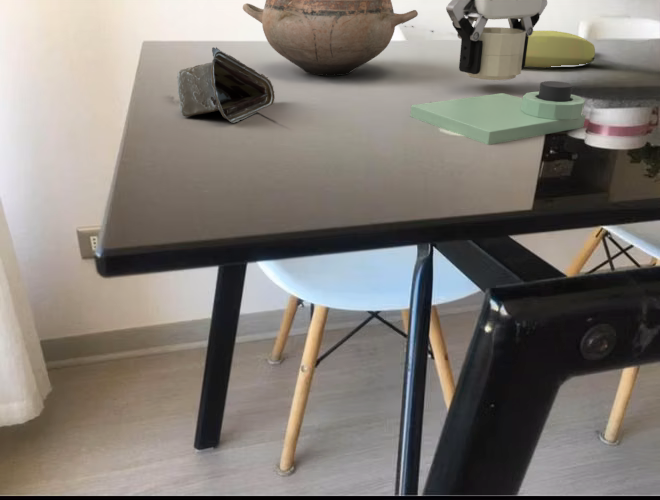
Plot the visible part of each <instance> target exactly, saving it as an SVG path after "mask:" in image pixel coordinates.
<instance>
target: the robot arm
mask: <svg viewBox="0 0 660 500" xmlns="http://www.w3.org/2000/svg"><path fill="white" fill-rule="evenodd" d="M547 6H548V0H451V1H450V2H449V3H448V4H447V5H446V8H445V10H446V12H447V14H448V17H449V18H450V21H451V22H452V23H451V24H452V26H453V28H454V29H455V31H456V32H457V38H458V39H460V40H461V42H460V52H459V62H458V63H459V65H458V70H459V71H460V72H463V73H466V72H467V73H471V74H478V73H479V72H480V66H481V56H482V47H483V43H482V42H483V41H480V40H478V39H479V38H480V36H481V34H482V31H483V29H484V27H486V25H487V23H488V21H489V20H507V21H508V26H509V28H515V29H521V30H525V31H526V35H525V43H524V51H523V59H522V67H521V69H524V68H525V60H526V53H527V45H528V38H529V36H531V35H532V33H533V31H534V27H535V26H536V25H537V23H538V22H539V20H540V16H541V15H542V13H543V12H544V11H545V9H546V8H547ZM474 22H475V23H474ZM473 24H474V25H473ZM467 73H466V74H467Z"/></svg>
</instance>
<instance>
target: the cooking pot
mask: <svg viewBox="0 0 660 500" xmlns="http://www.w3.org/2000/svg"><path fill="white" fill-rule="evenodd" d="M242 10H243V11H244V12H245V13H246V14H247V15H248V16H250V17H252V18H253V19H255V20H256V21H258V22H259V23H260V24H261V25H262V31H263V34H264V36H265V39H266V41H267V43H268V44H269V46H271V48H272V49H273V50H274V51H275V52H276V53H278V54H279V55H280V56H282V57H283V58H284V59H286V60H288V61H289V62H290V63H292V64H294V66H297V67H298V68H300V69H302V70H303V71H304V72H305V73H307V74H310V75H314V76H315V75H316V76H325V77H329V76H333V77H334V76H335V77H336V76H344V75H348V74H350V73H352V72H353V71H355V70H356V69H358V68H359V67H361V66H363V65H365V64H367V63H369V62H370V61H371V60H373V59H375V58H376V57H377V56H380V54H381V53H382V52H384V51H385V49H386V48H388V46H389V44H390V42H391V41H392V39H393V36H394V33H395V29H396V27H397V26H398V25H401V24H405V23H408V22H409V21H411V20H414V18H416V17H418V15H419V13H418V11H417V10H416V9H411V10H410V11H408V12H404V13H395V11H394V6H393V1H392V0H265V2H264V6H263V8H260V7H258V6H255V5H254V4H251V3H244V4H243V5H242Z"/></svg>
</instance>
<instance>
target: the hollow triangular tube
mask: <svg viewBox="0 0 660 500" xmlns="http://www.w3.org/2000/svg"><path fill="white" fill-rule="evenodd" d="M211 52H212V57H213V59H212V60H211V61H212V62H207V63H204V64H198V65H195V66H193V67H192V66H191V67H186V68H182V69H180V70H178V72H177V95H178V98H179V110H180V113H181V115H182V116H183V117H192V116H196V115H204V114H209V113H211V112H212V113H213V112H218V111H219V112H220V114H221V115H222V117H223V118H224V119H226V120H227V121H229V122H231V123H236V122H240V120H241V121H242V120H245V119H246V118H249V117H250V116H253V115H255V114H257V113H258V112H259V111H261V110H263V109H264V108H268V107H269V106H272V105H274V102H275V99H276V97H275V90H274V85H273V84H272V81H271V80H270V79H269V76H265V75H264V74H263V73H258V72H257V71H256V70H255V69H253V68H252V67H249V66H248V65H246V64H245V63H243V62H242V61H240V60H239V59H236V58H235V57H233V56H232V55H231V54H228V53H226V52H224V51H222V50H221V49H220V48H218V47H217V46H216V47H212V48H211Z"/></svg>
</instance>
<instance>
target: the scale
mask: <svg viewBox="0 0 660 500" xmlns="http://www.w3.org/2000/svg"><path fill="white" fill-rule="evenodd" d="M538 96H539V91H531V92H530V91H529V92H526V93H525V94H524V95H523V96H522V97H519V96H515V95H512V94H508V93H504V92H500V93H493V94H486V95H485V94H484V95H478V96H471V97H462V98H456V99H448V100H441V101H440V100H439V101H432V102H425V103H417V104H411V105H410V115H409V117H411V118H413V119H415V120H418V121H421V122H424V123H426V124H429V125H432V126H435V127H437V128H440V129H444V130H446V131H449V132H451V133H454V134H456V135H460V136H462V137H465V138H469V139H471V140H473V141H476V142H479V143H482V144H484V145H487V146H490V145H494V144H495V145H496V144H500V143H507V142H512V141H516V140H517V141H518V140H521V139H527V138H533V137H539V136H544V135H549V134H554V133H560V132H566V131H571V130H576V129H581V128H584V126H585V121H586V117H587V115H586V114H584V110H585V103H586V99H585V98H583V97H581V96H579V95H575V94H571V97H570V101H568V102H554V101H546V100H542V99H538Z"/></svg>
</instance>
